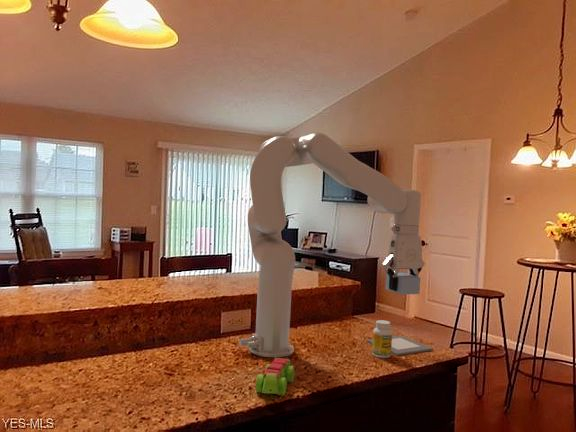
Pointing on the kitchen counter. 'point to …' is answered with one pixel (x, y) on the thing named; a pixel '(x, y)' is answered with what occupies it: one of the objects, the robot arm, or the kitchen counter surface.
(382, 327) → the supplement bottle
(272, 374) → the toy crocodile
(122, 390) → the kitchen counter surface
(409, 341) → the base plate
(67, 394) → the kitchen counter surface
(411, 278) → the light blue block
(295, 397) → the kitchen counter surface
